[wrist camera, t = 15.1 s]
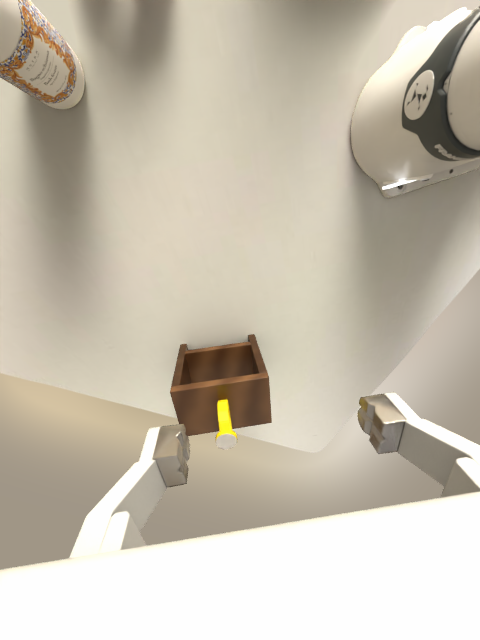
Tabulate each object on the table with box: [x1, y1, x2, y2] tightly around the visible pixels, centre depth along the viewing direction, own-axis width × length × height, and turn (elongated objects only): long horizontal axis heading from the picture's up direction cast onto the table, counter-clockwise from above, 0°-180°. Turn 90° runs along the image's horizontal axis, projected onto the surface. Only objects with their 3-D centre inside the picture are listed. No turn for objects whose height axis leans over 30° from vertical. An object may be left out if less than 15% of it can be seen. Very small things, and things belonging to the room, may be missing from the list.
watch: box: [216, 399, 237, 449], centre depth 34 cm, size 6×3×6 cm, turn 6°
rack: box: [170, 334, 272, 436], centre depth 43 cm, size 14×9×13 cm, turn 96°
